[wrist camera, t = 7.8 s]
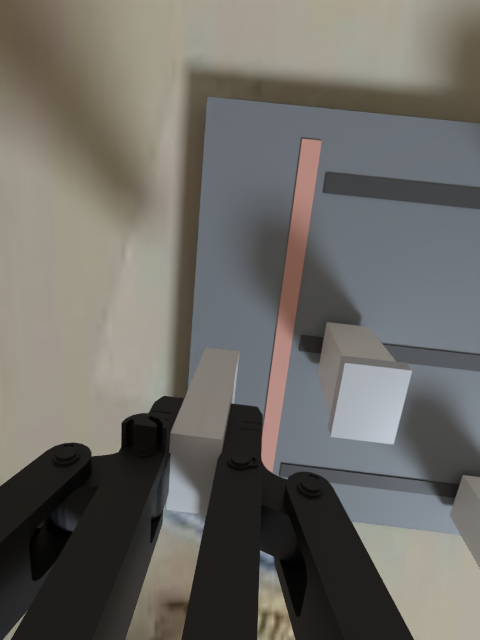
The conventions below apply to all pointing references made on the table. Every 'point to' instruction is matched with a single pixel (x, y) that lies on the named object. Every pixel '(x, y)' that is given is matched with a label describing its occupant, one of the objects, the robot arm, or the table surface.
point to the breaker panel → (346, 289)
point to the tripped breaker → (361, 384)
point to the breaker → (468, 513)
